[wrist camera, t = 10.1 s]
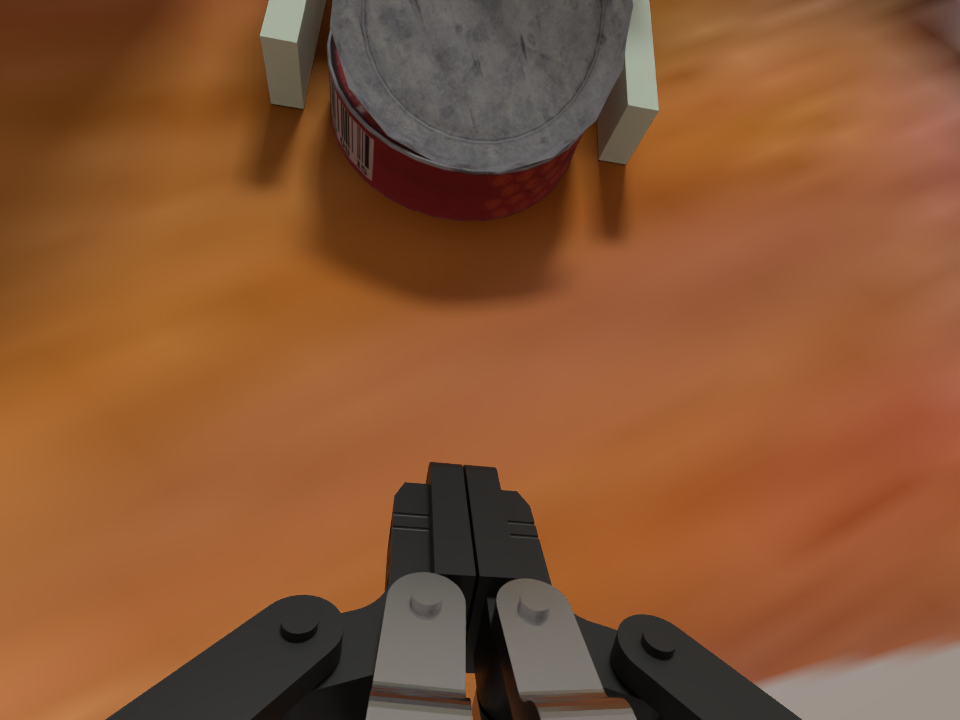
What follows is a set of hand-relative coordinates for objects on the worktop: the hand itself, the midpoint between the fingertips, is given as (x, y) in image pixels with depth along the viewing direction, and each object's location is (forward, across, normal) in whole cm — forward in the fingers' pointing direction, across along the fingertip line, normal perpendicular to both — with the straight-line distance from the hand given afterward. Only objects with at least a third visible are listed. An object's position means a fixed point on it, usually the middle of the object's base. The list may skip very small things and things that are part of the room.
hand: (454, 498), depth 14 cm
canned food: (+15, 0, -7) cm, 17 cm away
